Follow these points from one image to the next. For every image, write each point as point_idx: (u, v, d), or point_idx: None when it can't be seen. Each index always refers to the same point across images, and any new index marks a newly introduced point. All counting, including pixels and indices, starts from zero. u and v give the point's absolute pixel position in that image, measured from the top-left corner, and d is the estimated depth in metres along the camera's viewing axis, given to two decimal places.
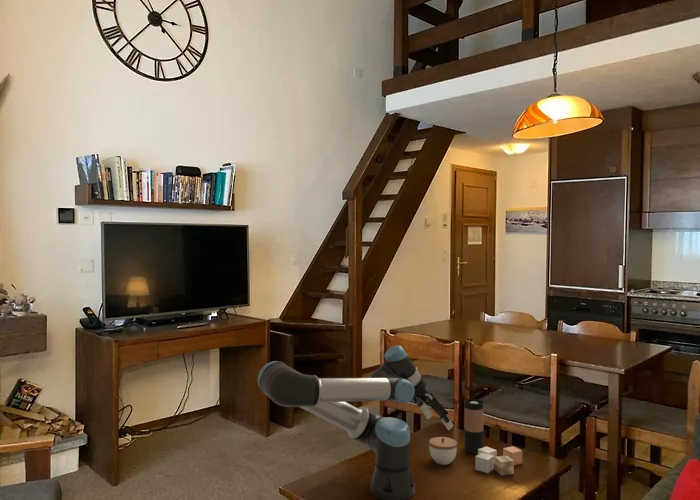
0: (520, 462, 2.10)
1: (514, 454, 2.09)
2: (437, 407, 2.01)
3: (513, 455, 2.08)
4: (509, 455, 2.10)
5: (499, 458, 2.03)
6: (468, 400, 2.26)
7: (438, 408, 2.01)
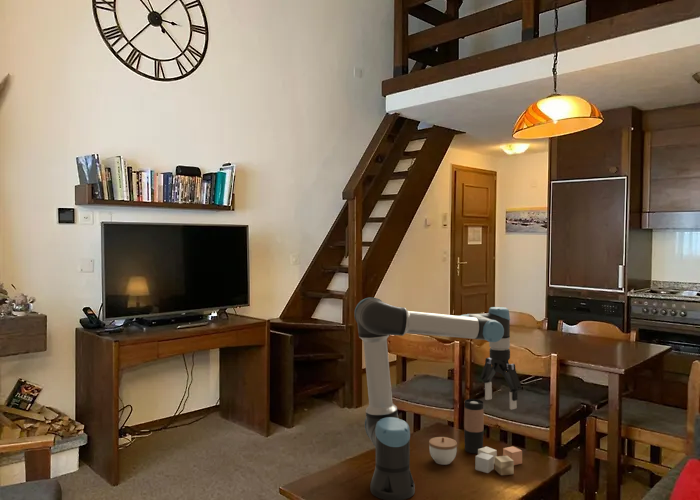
0: (520, 462, 2.10)
1: (514, 454, 2.09)
2: (514, 379, 2.00)
3: (513, 455, 2.08)
4: (509, 455, 2.10)
5: (499, 458, 2.03)
6: (468, 400, 2.26)
7: (515, 380, 2.00)
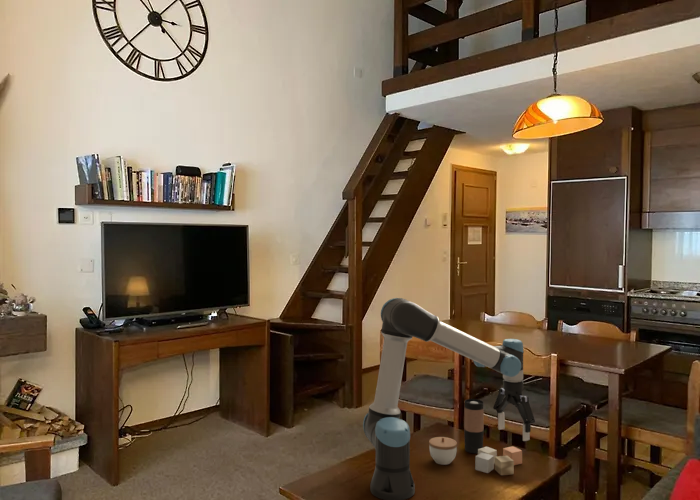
0: (520, 462, 2.10)
1: (514, 454, 2.09)
2: (528, 411, 2.03)
3: (513, 455, 2.08)
4: (509, 455, 2.09)
5: (499, 458, 2.03)
6: (468, 400, 2.26)
7: (528, 412, 2.03)
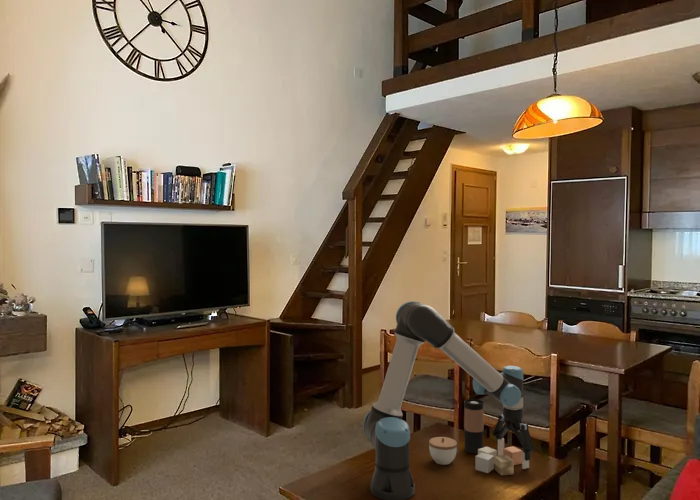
0: (520, 462, 2.10)
1: (515, 454, 2.09)
2: (527, 439, 2.04)
3: (513, 455, 2.08)
4: (509, 455, 2.09)
5: (499, 458, 2.03)
6: (468, 400, 2.26)
7: (528, 440, 2.03)
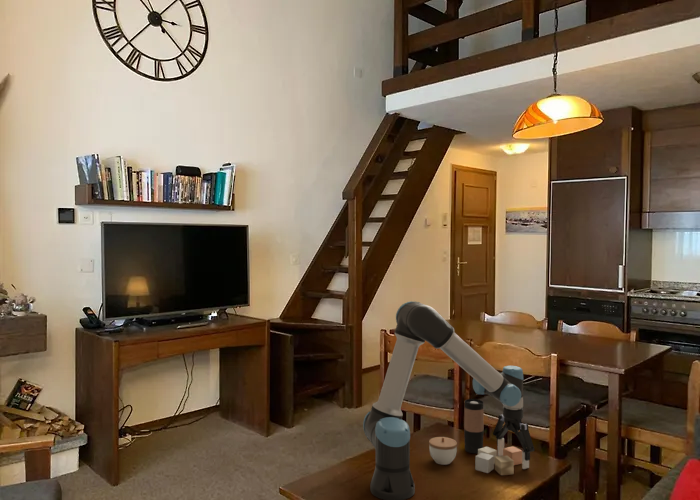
0: (520, 462, 2.10)
1: (514, 454, 2.09)
2: (527, 439, 2.04)
3: (513, 455, 2.08)
4: (509, 455, 2.09)
5: (499, 458, 2.03)
6: (468, 400, 2.26)
7: (528, 440, 2.03)
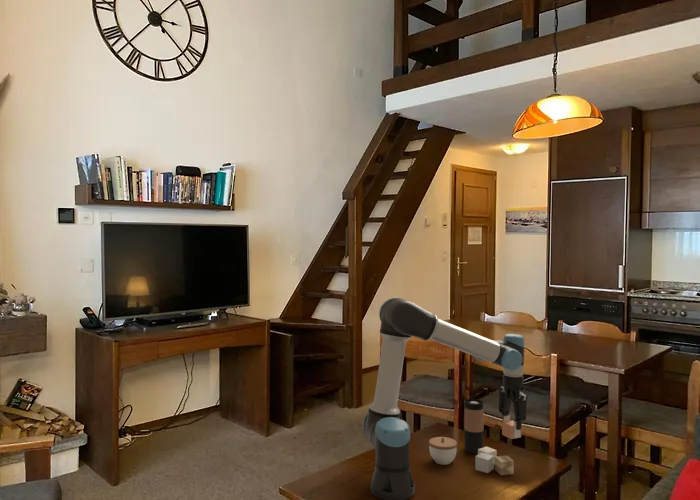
0: None
1: None
2: (522, 409, 2.05)
3: (512, 429, 2.08)
4: (508, 428, 2.09)
5: (499, 458, 2.03)
6: (468, 400, 2.26)
7: (522, 411, 2.05)
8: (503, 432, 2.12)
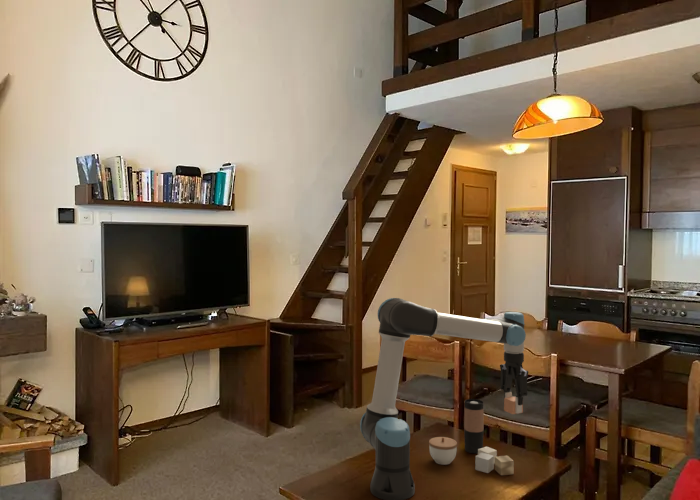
0: None
1: None
2: (523, 385, 2.09)
3: (513, 404, 2.12)
4: (510, 404, 2.13)
5: (499, 458, 2.03)
6: (468, 400, 2.26)
7: (523, 386, 2.09)
8: (505, 408, 2.16)
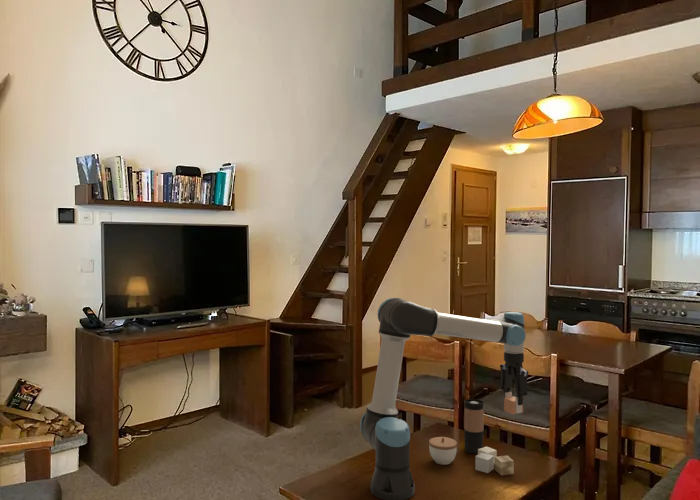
0: None
1: None
2: (523, 385, 2.09)
3: (513, 404, 2.12)
4: (510, 404, 2.13)
5: (499, 458, 2.03)
6: (468, 400, 2.26)
7: (523, 386, 2.09)
8: (505, 408, 2.16)
